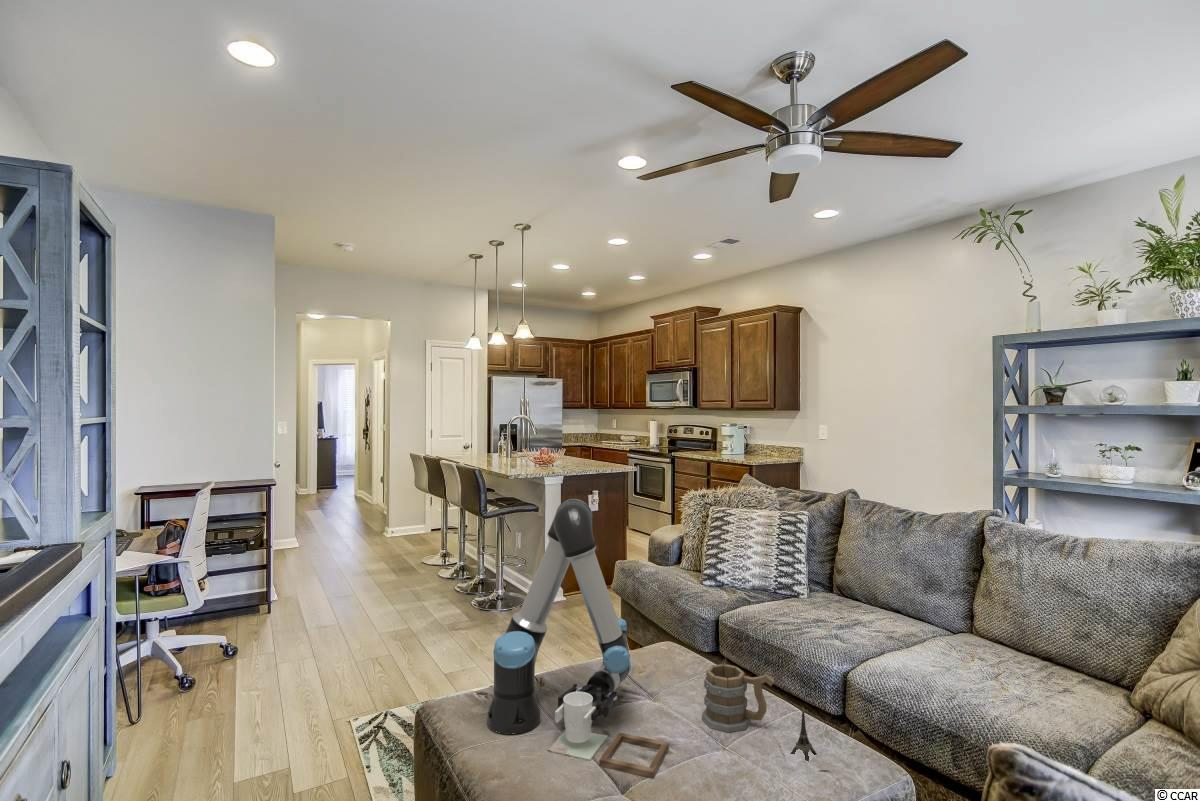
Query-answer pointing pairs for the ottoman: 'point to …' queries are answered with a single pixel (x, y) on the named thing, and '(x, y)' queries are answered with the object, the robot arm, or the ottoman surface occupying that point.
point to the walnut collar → (629, 767)
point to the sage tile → (583, 746)
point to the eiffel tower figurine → (804, 742)
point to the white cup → (577, 716)
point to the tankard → (731, 698)
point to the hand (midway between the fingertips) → (570, 720)
